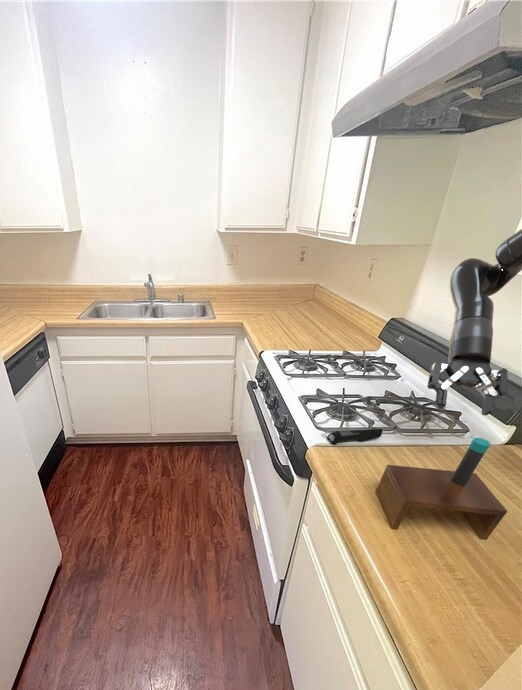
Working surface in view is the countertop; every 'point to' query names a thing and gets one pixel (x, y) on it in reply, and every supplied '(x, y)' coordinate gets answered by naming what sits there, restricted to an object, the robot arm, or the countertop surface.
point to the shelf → (438, 496)
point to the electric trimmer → (353, 435)
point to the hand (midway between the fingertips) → (463, 410)
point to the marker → (470, 461)
